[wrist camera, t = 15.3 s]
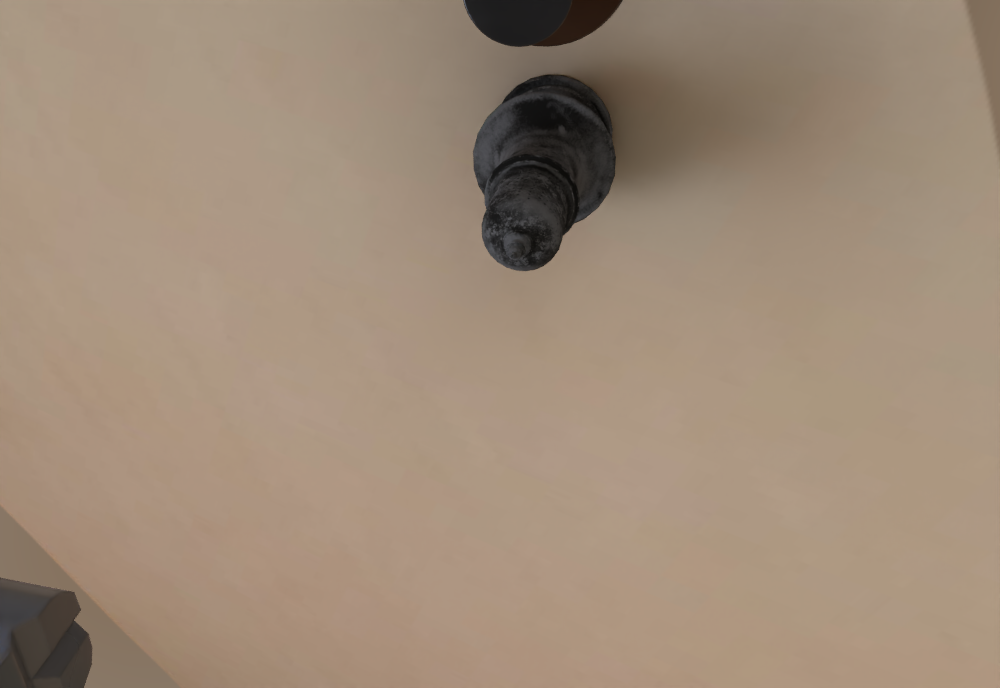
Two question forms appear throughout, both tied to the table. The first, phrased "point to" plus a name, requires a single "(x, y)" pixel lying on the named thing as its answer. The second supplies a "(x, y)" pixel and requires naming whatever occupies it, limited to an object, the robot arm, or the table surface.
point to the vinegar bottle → (539, 19)
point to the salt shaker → (542, 168)
